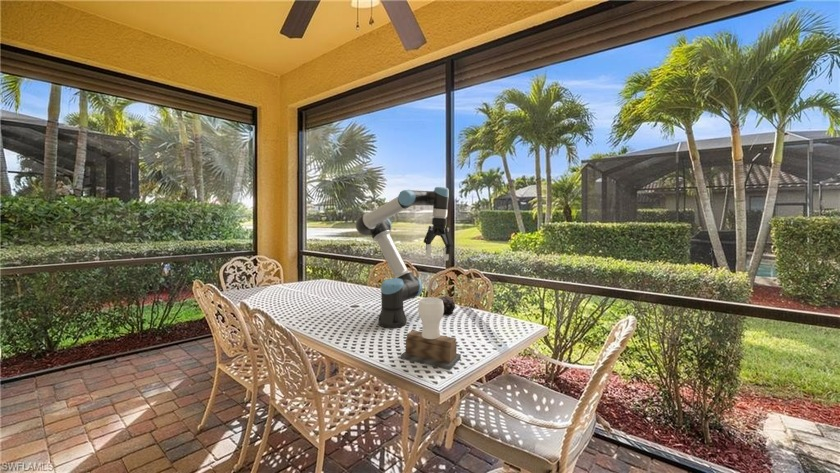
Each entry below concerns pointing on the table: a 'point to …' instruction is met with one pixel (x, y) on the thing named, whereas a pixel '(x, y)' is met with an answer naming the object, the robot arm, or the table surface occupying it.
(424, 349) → the brown wooden block
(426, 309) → the cup
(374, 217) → the robot arm
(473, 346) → the table surface
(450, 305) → the pine cone
